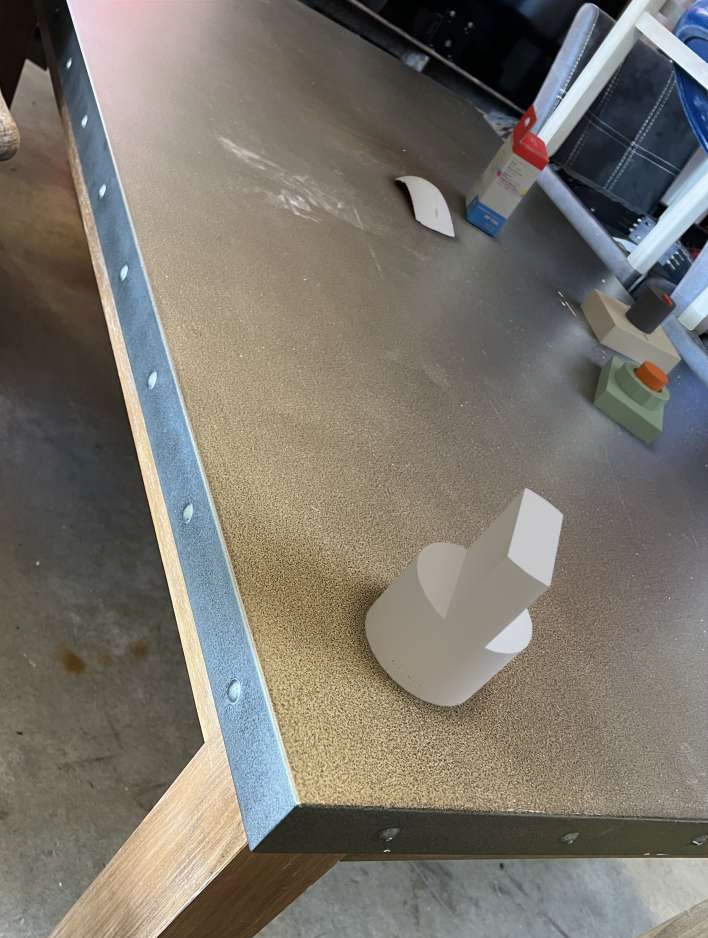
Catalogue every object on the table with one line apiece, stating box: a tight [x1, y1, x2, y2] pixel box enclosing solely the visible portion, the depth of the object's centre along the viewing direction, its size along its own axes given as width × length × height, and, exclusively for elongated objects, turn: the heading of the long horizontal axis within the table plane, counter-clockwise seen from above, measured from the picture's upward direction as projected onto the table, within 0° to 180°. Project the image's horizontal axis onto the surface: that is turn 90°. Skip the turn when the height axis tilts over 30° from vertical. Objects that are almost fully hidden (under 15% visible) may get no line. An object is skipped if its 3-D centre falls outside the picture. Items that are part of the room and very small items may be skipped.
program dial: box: [626, 284, 677, 334], centre depth 128 cm, size 4×4×5 cm
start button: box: [634, 361, 669, 393], centre depth 113 cm, size 4×4×2 cm
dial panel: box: [579, 288, 682, 376], centre depth 130 cm, size 12×9×3 cm
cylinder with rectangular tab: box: [364, 487, 564, 707], centre depth 62 cm, size 9×9×12 cm
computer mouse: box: [394, 175, 456, 238], centre depth 125 cm, size 7×12×2 cm, turn 15°
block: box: [592, 354, 671, 446], centre depth 114 cm, size 12×8×4 cm, turn 157°
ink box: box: [465, 104, 550, 238], centre depth 130 cm, size 8×5×15 cm, turn 171°
